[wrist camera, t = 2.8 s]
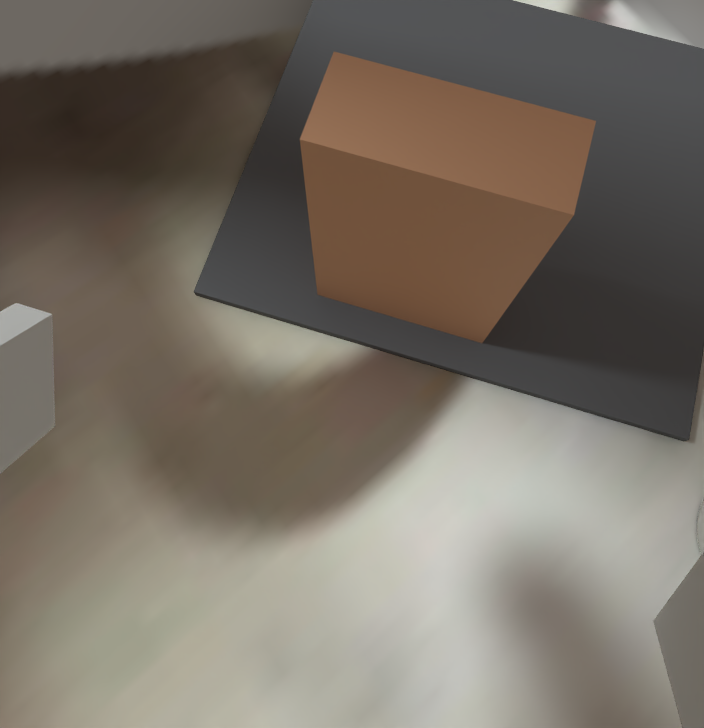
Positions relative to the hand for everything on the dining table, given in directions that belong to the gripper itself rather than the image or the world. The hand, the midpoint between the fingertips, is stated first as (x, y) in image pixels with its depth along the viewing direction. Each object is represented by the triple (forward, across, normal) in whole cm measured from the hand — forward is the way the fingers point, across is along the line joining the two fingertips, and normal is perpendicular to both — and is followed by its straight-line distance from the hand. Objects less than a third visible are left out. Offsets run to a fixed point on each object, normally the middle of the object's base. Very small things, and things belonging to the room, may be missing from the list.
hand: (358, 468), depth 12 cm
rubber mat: (+21, +2, +2) cm, 21 cm away
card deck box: (+16, 0, -2) cm, 16 cm away
